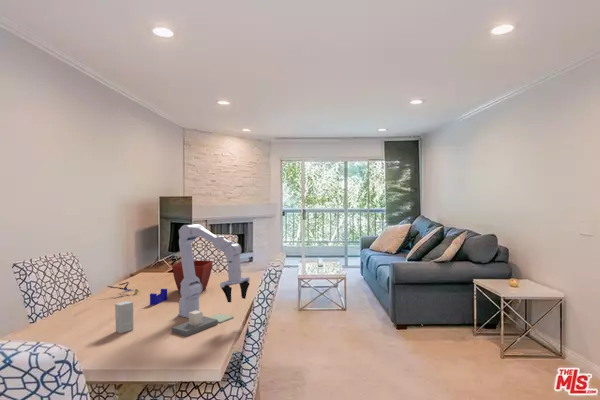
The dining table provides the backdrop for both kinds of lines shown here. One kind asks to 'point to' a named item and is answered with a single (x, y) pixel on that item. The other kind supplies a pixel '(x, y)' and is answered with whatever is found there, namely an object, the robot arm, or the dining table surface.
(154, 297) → the cable clip
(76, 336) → the dining table surface
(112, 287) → the figurine
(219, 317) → the mat
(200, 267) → the plant pot
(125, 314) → the skincare box
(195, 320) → the plug
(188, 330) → the gray square hole board
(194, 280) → the robot arm
